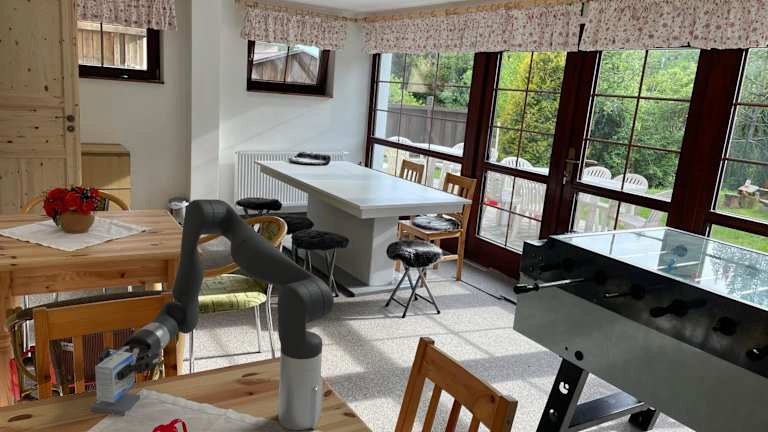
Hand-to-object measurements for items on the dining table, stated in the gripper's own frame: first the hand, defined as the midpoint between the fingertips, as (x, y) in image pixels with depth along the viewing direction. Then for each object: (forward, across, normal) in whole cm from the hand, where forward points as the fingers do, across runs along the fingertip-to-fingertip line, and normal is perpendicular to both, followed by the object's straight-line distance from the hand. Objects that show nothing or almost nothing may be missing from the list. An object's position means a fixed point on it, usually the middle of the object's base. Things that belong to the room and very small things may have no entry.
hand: (108, 374), depth 133 cm
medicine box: (-3, 0, +6) cm, 7 cm away
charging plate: (-2, 0, +9) cm, 9 cm away
